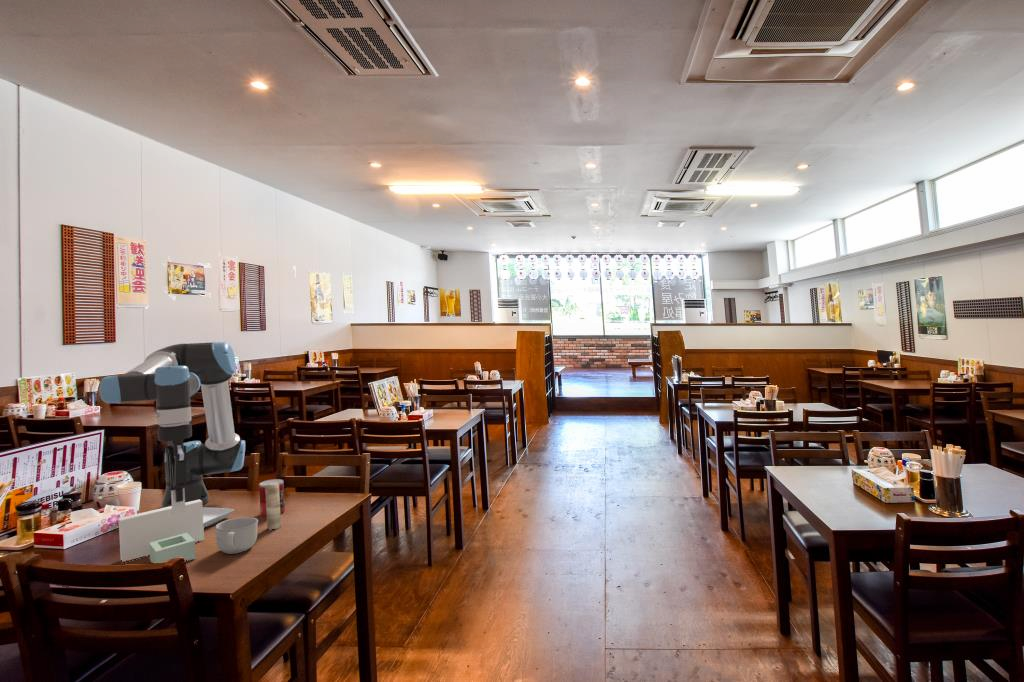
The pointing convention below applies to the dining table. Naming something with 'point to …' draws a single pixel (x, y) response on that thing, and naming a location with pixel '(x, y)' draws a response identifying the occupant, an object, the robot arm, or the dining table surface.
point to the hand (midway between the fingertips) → (178, 512)
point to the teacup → (236, 534)
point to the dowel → (273, 506)
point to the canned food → (263, 495)
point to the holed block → (172, 548)
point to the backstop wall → (158, 528)
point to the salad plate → (214, 515)
